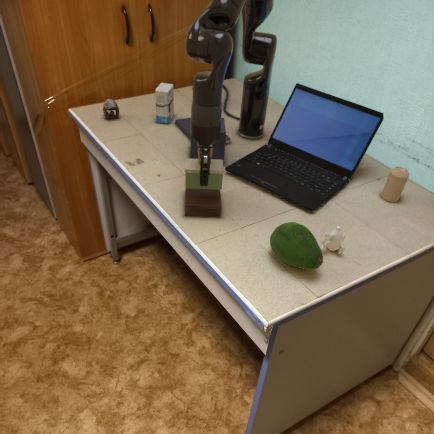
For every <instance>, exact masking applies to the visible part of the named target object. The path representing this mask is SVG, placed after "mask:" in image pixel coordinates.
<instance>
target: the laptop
mask: <svg viewBox="0 0 434 434" xmlns="http://www.w3.org/2000/svg"><path fill="white" fill-rule="evenodd" d="M384 119H385V118H384V113H383V112H381V111H378V110H376V109H373V108H370V107H367V106H366V105H365V106H364V105H362V104H359V103H356V102H353V101H351V100H347V99H344V98H341V97H338V96H335V95H332V94H330V93H326V92H324V91H321V90H318V89H316V88H313V87H309V86H306V85H304V84H301V83H298V82H297V83H296V84H294V87H293V89H292V91H291V94H290V95H289V97H288V100H287V101H286V103H285V105H284V107H283V110H282V111H281V114H280V116H279V118H278V120H277V122H276V124H275V126H274V129H273V130H272V132H271V134H270V136H269V138H268V141H267V143H266V144H263V145H262V146H260V147H259V148H257V149H255V150H253V151H252V152H250V153H248V154H246V155H245V156H243V157H241V158H239V159H238V160H236V161H234V162H232V163H230V164H228V165H226V166H225V167H224V171H225V172H227V173H229V174H232V175H233V176H235V177H238V178H240V179H241V180H242V179H243V180H245V181H246V182H249V183H250V184H253V185H254V186H257V187H259V188H261V189H262V190H265V191H267V192H269V193H271V194H273V195H275V196H277V197H279V198H281V199H283V200H285V201H287V202H289V203H291V204H294V205H295V206H298V207H300V208H301V209H304V210H305V211H307V212H311V213H314V212H315V211H317V210H318V209H319V208H320V207H321V206H323V205H324V203H326V202H327V201H328V200H330V199H331V198H332V197H333V196H334V195H336V194H337V193H338V192H339V191H341V190H342V189H343V188H344V187H345V186H346V185H348V184H349V182H350V181H351V180H352V179H353V176H354V174H355V173H356V171H357V170H358V167H359V166H360V164H361V161H362V160H363V158H364V156H365V154H366V153H367V151H368V149H369V147H370V145H371V143H372V142H373V140H374V138H375V136H376V134H377V132H378V131H379V129H380V127H381V125H382V123H383V121H384Z"/></svg>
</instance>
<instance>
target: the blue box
mask: <svg viewBox="0 0 434 434" xmlns="http://www.w3.org/2000/svg"><path fill="white" fill-rule="evenodd" d="M226 135H227V131H226V122H225V117H221V130H220V138H219V140H217V141H216V142H213V143H212V147H213V153H212V158H211V159H219V160H223V165H224V161H225V151H226V144H225V139H226ZM197 149H198V148H197V141H195V140H194V139H193V138H192V137H191V129H190V139H189V158H190V159H198V152H197Z"/></svg>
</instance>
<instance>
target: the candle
mask: <svg viewBox="0 0 434 434" xmlns="http://www.w3.org/2000/svg"><path fill="white" fill-rule="evenodd" d="M409 177H410V172H409V170H408V169H407V168H405V167H402V166H400V165H399V166H395V167H393V168H391V169H390V171H389V173H388V176H387V179H386V181H385V183H384V186H383V189H382V192H381V195H380V196H381V198H382V199H383V200H385V201H387V202H392V203H394V202H395V203H396V202H398V201H399V200H400V198H401V196H402V193H403V191H404V189H405V186H406V184H407V181H408V179H409Z"/></svg>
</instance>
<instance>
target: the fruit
mask: <svg viewBox="0 0 434 434" xmlns="http://www.w3.org/2000/svg"><path fill="white" fill-rule="evenodd" d="M269 244H270V248H271V251H272V253H273V254H274V255H275V256H276V257H277V258H278V259H279V260H281V261H282V262H283V263H284V264H286V265H289V266H292V267H294V268H295V267H296V268H299V269H303V270H308V271H309V270H310V271H311V270H317V269H319V268H320V267H321V266H322V265H323V262H324V254H323V251H322V249H321V247H320V245H319V243H318V241H317V238H316V237H315V236H314V233H312V232H311V230H310V229H309V228H308V227H307V226H306V225H303V224H301V223H300V222H299V223H298V222H296V221H289V222H284V223H281V224H279V225H278V226H277V227H275V228H274V229H273V231H272V233H271V235H270V236H269Z"/></svg>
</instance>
